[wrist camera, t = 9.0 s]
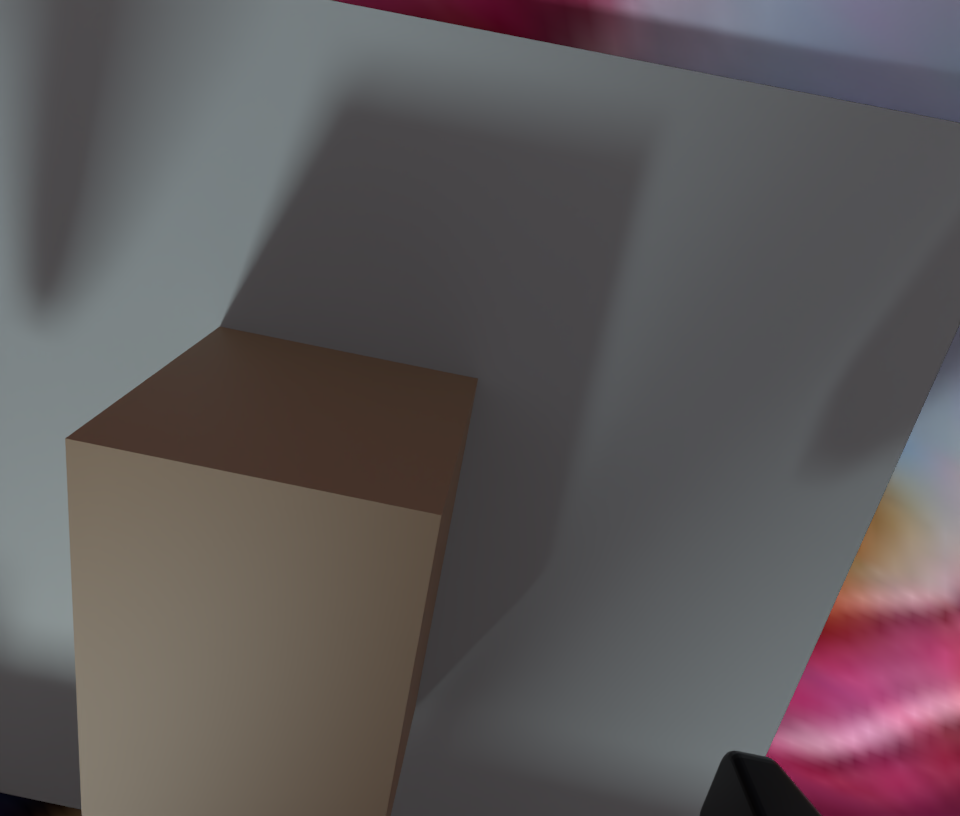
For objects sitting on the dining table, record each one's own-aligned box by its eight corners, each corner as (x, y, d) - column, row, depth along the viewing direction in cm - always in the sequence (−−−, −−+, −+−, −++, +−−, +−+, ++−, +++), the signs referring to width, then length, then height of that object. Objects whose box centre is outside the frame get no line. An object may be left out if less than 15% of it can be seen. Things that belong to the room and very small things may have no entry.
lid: (674, 876, 13) (721, 1191, 9) (-53, 723, 13) (-288, 971, 9) (988, 132, 8) (1338, 173, 5) (-162, -92, 8) (-725, -229, 5)
